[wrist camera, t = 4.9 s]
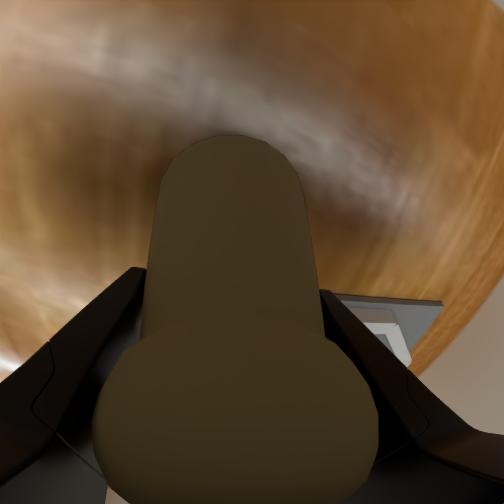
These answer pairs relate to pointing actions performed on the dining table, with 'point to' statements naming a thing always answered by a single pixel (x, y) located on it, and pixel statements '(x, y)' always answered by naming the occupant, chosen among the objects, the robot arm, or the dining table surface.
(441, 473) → the robot arm
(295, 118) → the dining table surface
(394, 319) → the collar plate
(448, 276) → the dining table surface
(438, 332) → the dining table surface
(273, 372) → the olive brown pawn
